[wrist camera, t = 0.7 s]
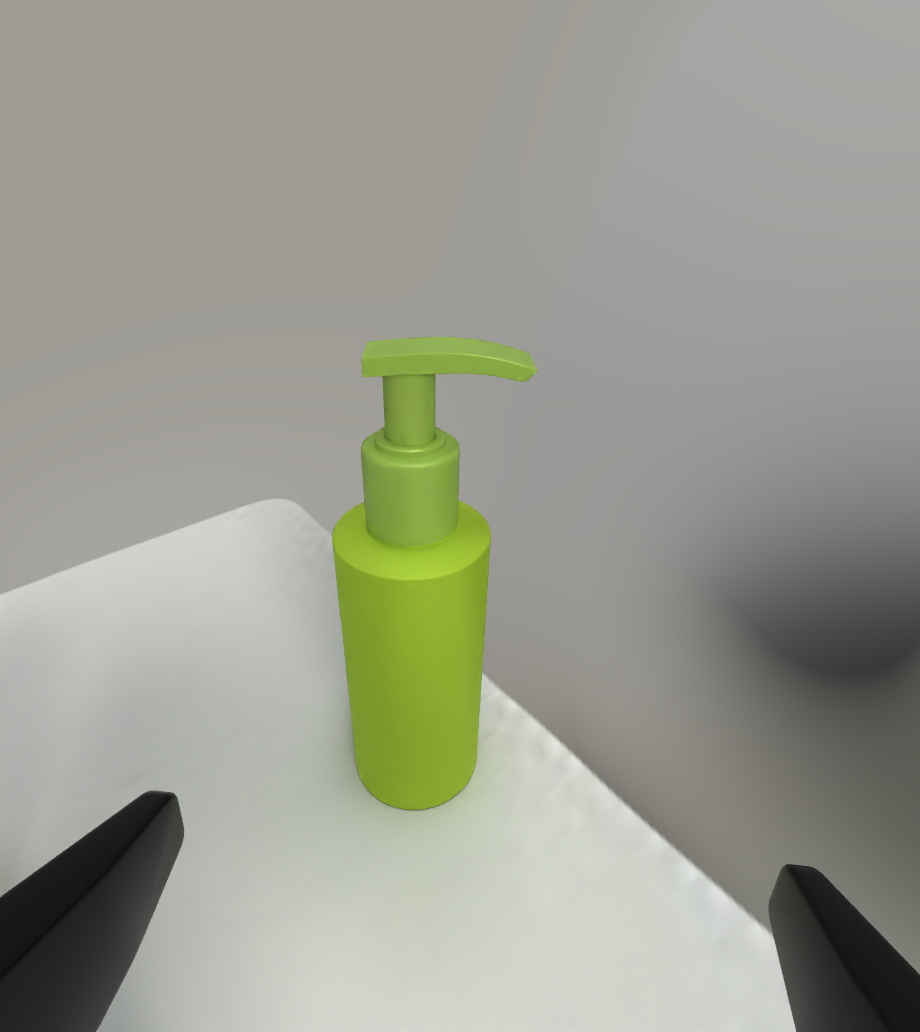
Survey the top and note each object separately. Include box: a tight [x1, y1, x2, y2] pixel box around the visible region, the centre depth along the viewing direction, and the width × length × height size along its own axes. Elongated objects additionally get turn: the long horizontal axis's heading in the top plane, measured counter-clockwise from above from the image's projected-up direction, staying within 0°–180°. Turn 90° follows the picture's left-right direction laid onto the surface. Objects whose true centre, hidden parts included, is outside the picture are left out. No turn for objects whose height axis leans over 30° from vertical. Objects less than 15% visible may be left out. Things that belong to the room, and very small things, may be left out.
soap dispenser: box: [332, 337, 538, 810], centre depth 23 cm, size 6×7×20 cm
